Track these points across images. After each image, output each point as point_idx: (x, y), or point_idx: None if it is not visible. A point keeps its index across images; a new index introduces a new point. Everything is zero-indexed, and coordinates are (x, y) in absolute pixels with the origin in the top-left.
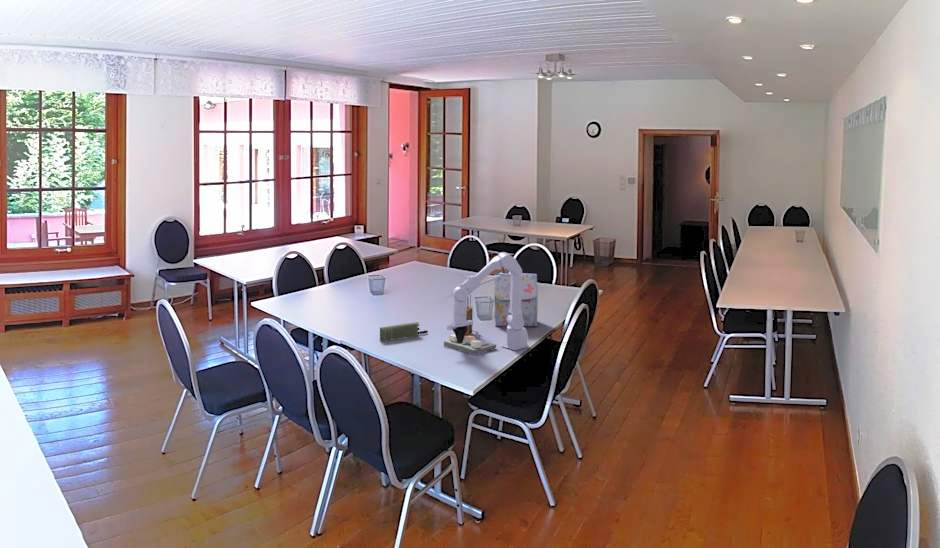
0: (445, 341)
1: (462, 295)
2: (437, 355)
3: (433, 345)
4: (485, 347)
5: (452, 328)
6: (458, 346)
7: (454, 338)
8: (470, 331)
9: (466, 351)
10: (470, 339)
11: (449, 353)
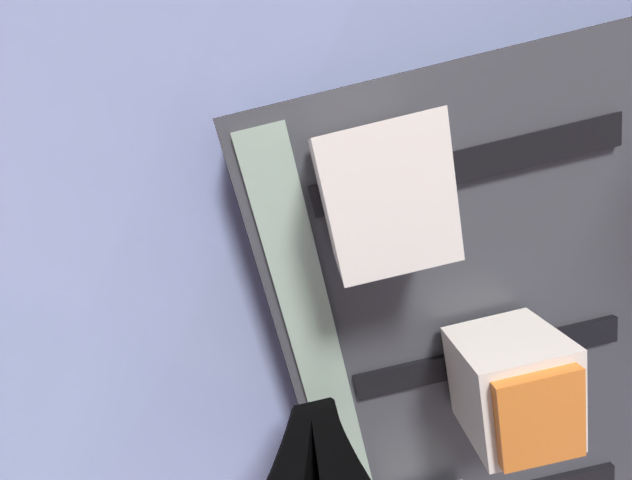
0: (233, 138)
1: None
2: (15, 414)
3: (97, 27)
4: None
5: None
6: (295, 392)
7: (338, 264)
8: None
9: None
10: (485, 460)
11: (161, 409)
